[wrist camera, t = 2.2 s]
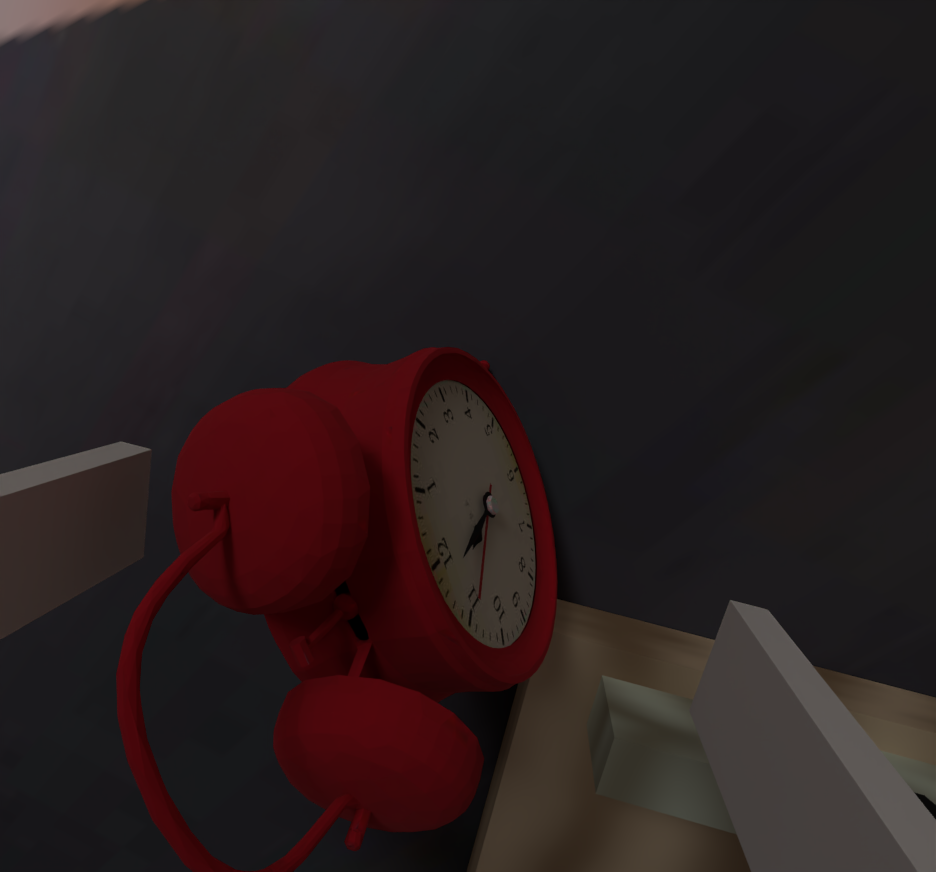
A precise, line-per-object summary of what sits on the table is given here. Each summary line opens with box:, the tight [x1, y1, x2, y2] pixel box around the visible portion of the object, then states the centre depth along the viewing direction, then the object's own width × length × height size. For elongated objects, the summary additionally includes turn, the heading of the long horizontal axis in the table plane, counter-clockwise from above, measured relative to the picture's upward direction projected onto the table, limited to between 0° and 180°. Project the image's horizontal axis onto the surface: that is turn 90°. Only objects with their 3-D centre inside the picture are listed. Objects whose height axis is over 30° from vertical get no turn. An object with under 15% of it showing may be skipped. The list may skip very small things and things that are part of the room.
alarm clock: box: [116, 347, 557, 872], centre depth 13 cm, size 10×6×15 cm, turn 20°
